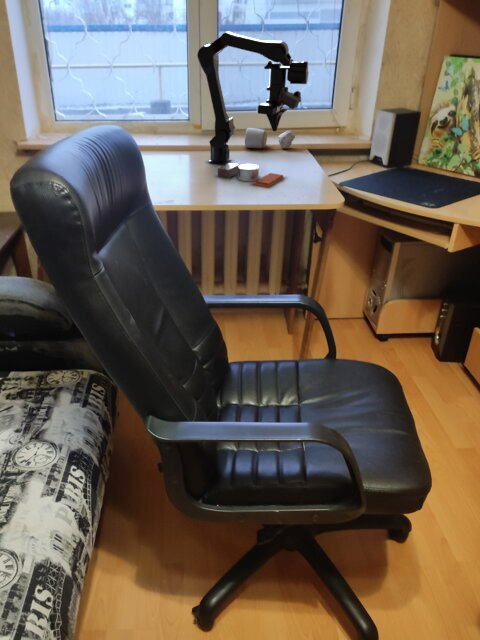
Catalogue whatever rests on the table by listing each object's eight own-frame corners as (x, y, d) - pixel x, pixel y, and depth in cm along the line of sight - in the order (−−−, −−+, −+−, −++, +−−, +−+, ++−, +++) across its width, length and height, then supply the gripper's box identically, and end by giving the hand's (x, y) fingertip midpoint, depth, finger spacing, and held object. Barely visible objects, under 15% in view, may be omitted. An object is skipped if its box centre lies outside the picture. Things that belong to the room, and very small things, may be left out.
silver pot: (234, 179, 195) (234, 167, 192) (244, 174, 199) (245, 162, 197) (252, 182, 191) (252, 170, 189) (262, 177, 196) (262, 165, 194)
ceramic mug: (263, 150, 225) (264, 130, 220) (244, 149, 227) (244, 129, 222) (268, 144, 233) (269, 125, 229) (249, 143, 235) (250, 124, 231)
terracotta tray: (253, 184, 189) (253, 181, 189) (269, 175, 197) (269, 172, 197) (267, 187, 187) (268, 184, 186) (283, 178, 195) (283, 174, 194)
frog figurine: (292, 150, 224) (294, 132, 220) (275, 149, 226) (277, 131, 222) (295, 147, 229) (297, 129, 225) (279, 146, 230) (280, 128, 226)
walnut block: (217, 176, 198) (217, 168, 196) (228, 171, 203) (229, 162, 201) (228, 178, 196) (228, 169, 194) (239, 172, 201) (239, 164, 199)
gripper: (286, 89, 182) (283, 139, 191) (309, 81, 195) (305, 128, 204) (257, 86, 187) (255, 135, 196) (281, 79, 200) (278, 125, 209)
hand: (274, 131), depth 201 cm, fingers closed
